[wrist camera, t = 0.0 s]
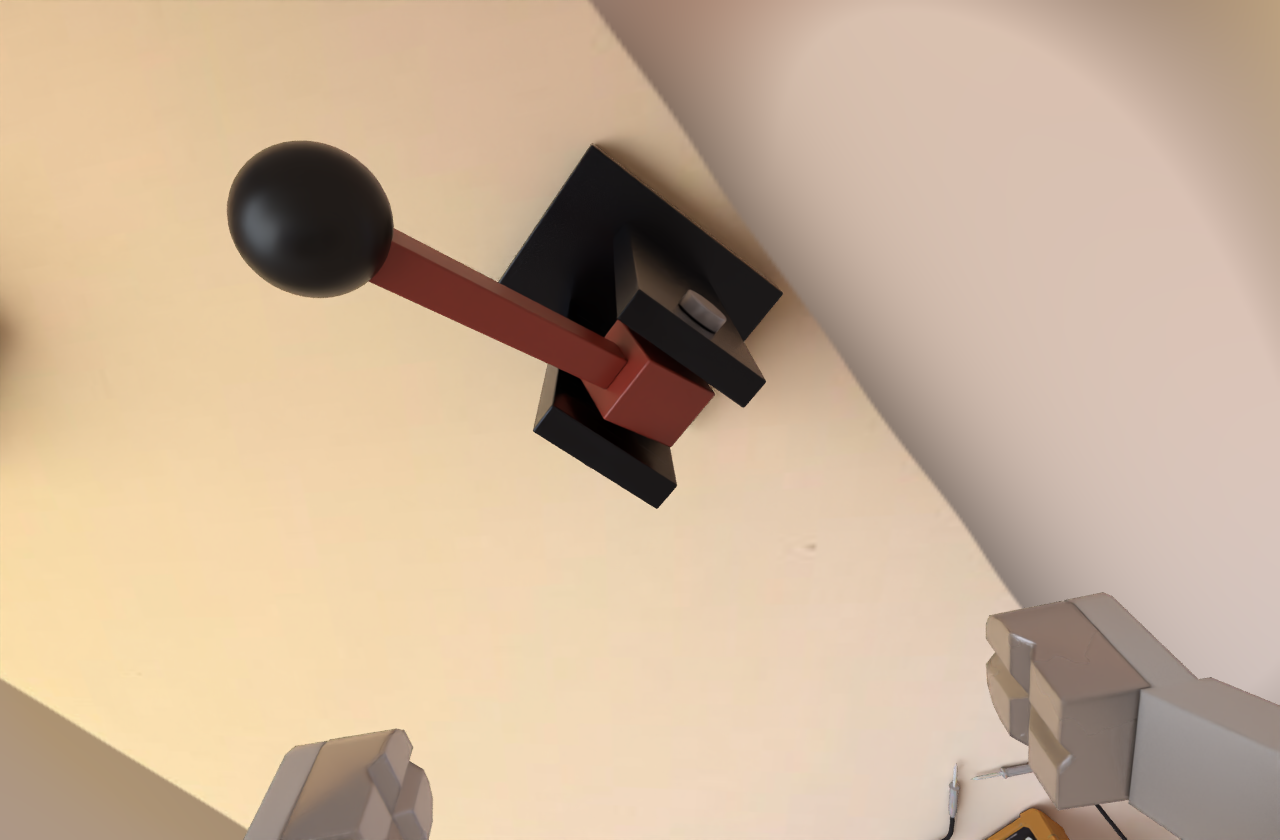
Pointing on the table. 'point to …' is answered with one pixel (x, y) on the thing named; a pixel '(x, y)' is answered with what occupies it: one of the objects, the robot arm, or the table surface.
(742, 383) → the switch bracket
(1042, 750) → the robot arm
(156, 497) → the table surface
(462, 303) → the switch lever
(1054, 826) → the multimeter
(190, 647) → the table surface
